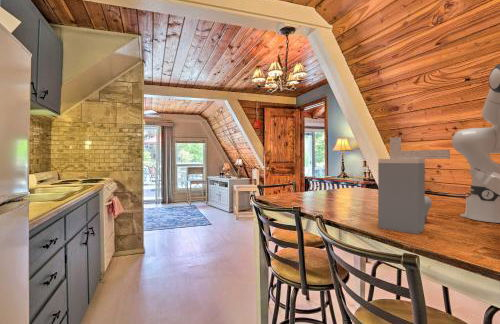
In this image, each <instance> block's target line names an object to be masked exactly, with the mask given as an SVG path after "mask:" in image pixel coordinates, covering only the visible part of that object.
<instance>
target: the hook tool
mask: <svg viewBox="0 0 500 324" xmlns="http://www.w3.org/2000/svg"><path fill="white" fill-rule="evenodd" d="M450 157H451V149H426V150H425V149H420V150H419V149H418V150H417V149H414V150H402V137H401V136H399V137H398V136H397V137H395V136H394V137H389V159H425V160H431V159H432V160H435V159H436V160H442V159H443V160H445V159H446V160H448V159H451V158H450Z"/></svg>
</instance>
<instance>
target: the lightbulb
mask: <svg viewBox="0 0 500 324" xmlns="http://www.w3.org/2000/svg"><path fill="white" fill-rule="evenodd" d="M432 205H433V201H432V199H431V198H430V197H429V196H427V195H425V222H427V221H428V220H427V219H428V215H429V211H430V209H431V208H432Z"/></svg>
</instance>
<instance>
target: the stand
mask: <svg viewBox="0 0 500 324" xmlns="http://www.w3.org/2000/svg"><path fill="white" fill-rule="evenodd" d="M425 160H426V159H390V158H378V160H377V161H378V162H377V164H378V165H377V167H378V170H377V172H378V173H377V174H378V177H377V179H378V181H377V183H378V184H377V186H378V187H377V189H378V190H377V193H378V195H377V198H378V199H377V201H378V202H377V203H378V204H377V205H378V206H377V207H378V208H377V209H378V210H377V213H378V214H377V215H378V218H377V219H378V221H377V223H378V224H377V226H378V227H377V228H378V229H381V230H388V231H389V230H390V231H395V232H402V233H407V234H413V235H419V234H420V233H422V232H423V231H424V230H425V228H426V227H425V226H426V225H425V224H426V223H425V222H426V221H425V196H426V193H425V192H426V190H425V188H426V186H425V185H426V184H425V183H426V180H425V179H426V177H425V176H426V175H425V173H426V171H425V169H426V168H425V167H426V161H425Z"/></svg>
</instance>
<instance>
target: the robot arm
mask: <svg viewBox="0 0 500 324" xmlns="http://www.w3.org/2000/svg"><path fill="white" fill-rule="evenodd" d="M488 86H489V91H488V94H487V96H486V99H485V102H484V104H483V108H482V110H481V116H482V118H483V119H484V120H485V121H486V122H488V123H489V124H491V125H492V126H491V127H490V126H489V127H469V128H464V129H460V130H457V131H456V132H455V133H454V134H453V136H452V139H451V144H452V147H453V149H454V150H455V151H456V152H457V153H459V154H460V155H462V156H463V157H464V158H465V159H466V161H467V162H468V164H469V166H470V170H468V174H470V175H471V185H470V189H469V190H470V195H469V196H468V197H467V198H466V199H465V212H464V213H461V214H460V217H462V218H466V219H469V220H470V219H471V220H474V221H479V222H484V223H485V222H486V223H498V224H500V163H498V162H496V161H494V160H493V159H492V157H491V154H500V63H498V64H496V65H495V66H494V67H493V68H492V70H491V71H490V73H489V76H488Z"/></svg>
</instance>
